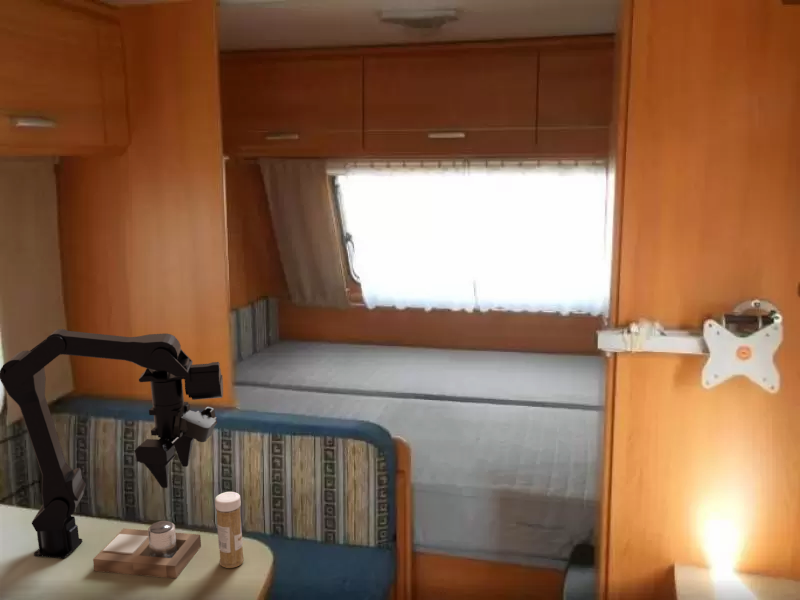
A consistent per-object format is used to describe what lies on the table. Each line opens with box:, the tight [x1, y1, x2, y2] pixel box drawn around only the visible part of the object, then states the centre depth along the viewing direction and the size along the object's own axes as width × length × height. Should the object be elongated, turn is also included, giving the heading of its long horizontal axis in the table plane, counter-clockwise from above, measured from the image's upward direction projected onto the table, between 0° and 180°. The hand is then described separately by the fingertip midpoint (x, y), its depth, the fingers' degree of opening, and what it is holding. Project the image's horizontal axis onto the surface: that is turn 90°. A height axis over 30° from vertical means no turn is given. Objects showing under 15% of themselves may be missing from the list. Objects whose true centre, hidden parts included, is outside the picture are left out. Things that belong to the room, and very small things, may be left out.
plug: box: [147, 520, 177, 558], centre depth 143 cm, size 5×5×7 cm
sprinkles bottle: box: [214, 491, 245, 569], centre depth 142 cm, size 5×5×14 cm
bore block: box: [92, 528, 202, 579], centre depth 144 cm, size 16×11×3 cm
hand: (175, 476), depth 149 cm, fingers open, 9 cm apart
